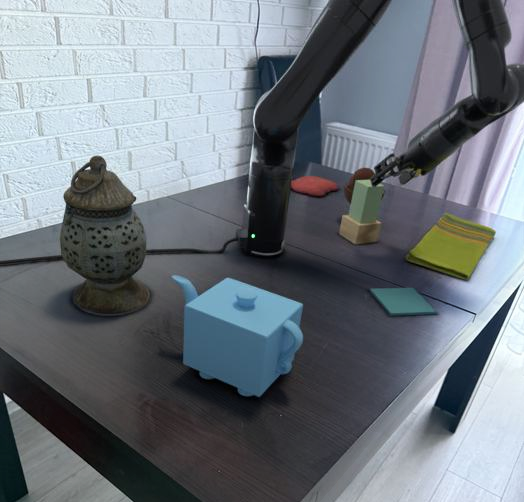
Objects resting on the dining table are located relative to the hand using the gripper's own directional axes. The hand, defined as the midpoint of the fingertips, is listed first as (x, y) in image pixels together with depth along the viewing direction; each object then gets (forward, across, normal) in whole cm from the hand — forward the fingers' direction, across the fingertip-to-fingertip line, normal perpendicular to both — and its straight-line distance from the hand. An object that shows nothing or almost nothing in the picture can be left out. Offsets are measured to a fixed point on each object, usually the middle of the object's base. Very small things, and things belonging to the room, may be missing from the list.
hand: (386, 182), depth 117 cm
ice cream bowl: (+22, -6, +1) cm, 22 cm away
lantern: (+7, +66, +16) cm, 68 cm away
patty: (+43, -11, -20) cm, 48 cm away
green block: (+12, 0, +4) cm, 12 cm away
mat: (-7, +12, +29) cm, 32 cm away
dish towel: (+6, -21, +16) cm, 28 cm away
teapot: (-12, +54, +35) cm, 66 cm away
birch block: (+15, 0, +7) cm, 17 cm away
